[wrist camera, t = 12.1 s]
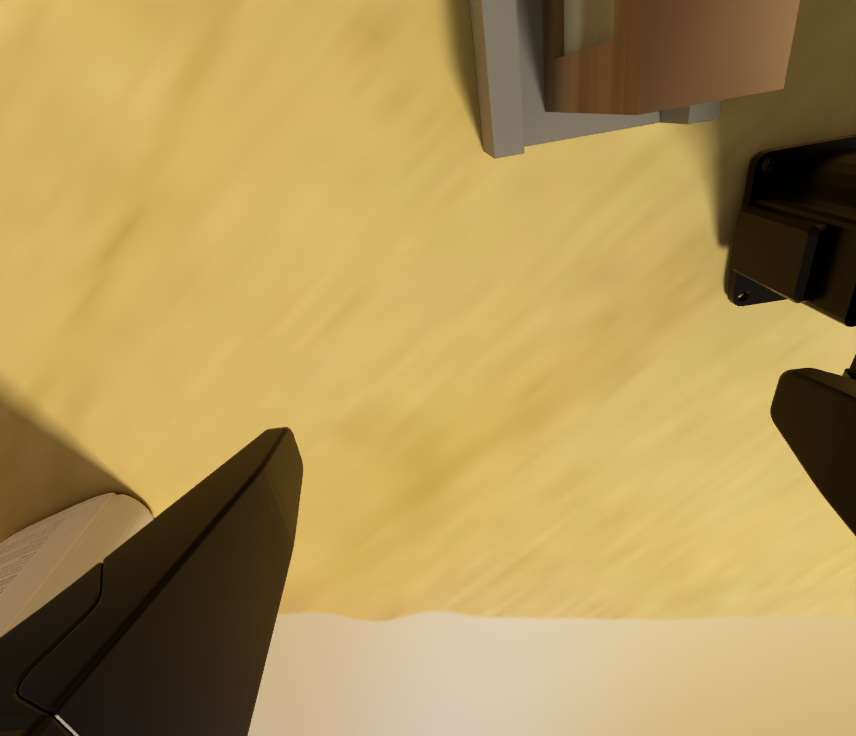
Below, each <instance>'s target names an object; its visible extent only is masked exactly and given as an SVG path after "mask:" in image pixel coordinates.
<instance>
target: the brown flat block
mask: <svg viewBox="0 0 856 736" xmlns="http://www.w3.org/2000/svg"><path fill="white" fill-rule="evenodd" d="M799 4H800V0H542V29H543V60H544V92H545V112H562V113H589V114H616V115H641V114H647V113H652V112H658V111H664V110H669V109H675V108H680V107H686V106H691V105H697V104H703V103H708V102H714V101H719V100H725V99H730V98H736V97H742V96H747V95H753V94H758V93H764V92H770V91H775V90H781V89H784V84H785V78H786V73H787V68H788V62H789V57H790V52H791V46H792V41H793V36H794V30H795V25H796V20H797V14H798V9H799Z"/></svg>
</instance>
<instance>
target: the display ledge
mask: <svg viewBox="0 0 856 736" xmlns="http://www.w3.org/2000/svg"><path fill="white" fill-rule="evenodd" d="M469 1H470V12H471V22H472V33H473V44H474V54H475V65H476V76H477V87H478V97H479V108H480V119H481V129H482V140H483V151H484V152H486V153H487V154H489V155H490V156H492V157H493V158H501V157H506V156H512V155H518V154H523V153H524V147H526V146H531V145H537V144H542V143H548V142H553V141H559V140H565V139H570V138H576V137H581V136H587V135H593V134H598V133H604V132H609V131H615V130H620V129H626V128H632V127H637V126H643V125H648V124H654V123H660V122H662V123H678V124H692V123H697V122H703V121H708V120H714V119H719V116H720V108H721V101H722V100H719V101H714V102H708V103H703V104H697V105H691V106H686V107H680V108H675V109H669V110H664V111H658V112H652V113H647V114H641V115H616V114H589V113H562V112H545V92H544V60H543V29H542V0H469Z"/></svg>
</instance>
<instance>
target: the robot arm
mask: <svg viewBox="0 0 856 736" xmlns="http://www.w3.org/2000/svg"><path fill="white" fill-rule="evenodd" d="M766 159H768V162H769V163H768V165H767V167H766V168H765V169H764V170H762V164H763V162H764V161H765V160H766ZM731 268H732V271H731V277H730V283H729V289H728V299H729V301H730V302H732V303H734V304H735V305H737V306H746V305H752V304H759V303H765V302H772V301H778V300H785V299H789V300H791V301H793V302H795V303H802V304H804V305H806V306H808V307H810V308H812V309H814V310H816V311H818V312H820V313H822V314H824V315H826V316H828V317H830V318H832V319H834V320H836V321H838V322H840V323H842V324H844V325H846V326H849V327H853V326H856V135H850V136H844V137H838V138H833V139H827V140H821V141H815V142H809V143H804V144H798V145H792V146H786V147H781V148H775V149H769V150H764V151H761V152H759V153H758V154H756V155H755V156H754V157H753V159H752V160H751V162H750V165H749V169H748V175H747V181H746V187H745V193H744V199H743V205H742V209H741V211H740V212H739V217H738V223H737V229H736V235H735V241H734V247H733V253H732V259H731ZM742 291H745V292H744V294H743V295H742V296H741V297H739V298H738V296H739V294H740V293H741V292H742ZM770 413H771V417H772V420H773V422H774V424H775V425H776V427H777V428H778V430H779V431H780V433H781V434H782V436H783V437H784V439H785V440H786V442H787V443H788V445H789V446H790V448H791V449H792V451H793V453H794V454H795V456H796V457H797V459H798V460H799V462H800V463H801V465H802V466H803V468H804V469H805V471H806V472H807V474H808V475H809V477H810V478H811V480H812V481H813V483H814V484H815V485H816V487H817V488H818V490H819V491H820V493H821V494H822V495H823V496H824V498H825V499H826V500H827V502H828V503H829V504H830V505H831V507H832V508H833V509H834V510H835V511H836V513H837V514H838V515H839V516H840V518H841V519H842V520H843V521H844V522H845V524H846V525H847V526H848V527H849V529H850V530H851V531H852V532H853V534H854V535H855V536H856V355H855V357H854V359H853V362H852V364H851V366H850V368H848V369H845V371H844V373H843V375H842V376H840V375H837V374H833V373H829V372H825V371H822V370H818V369H814V368H801V369H793V370H787V371H785V372H784V373H783V374H782V375H781V376H780V378H779V381H778V385H777V388H776V391H775V395H774V398H773V401H772V405H771V411H770ZM302 477H303V463H302V459H301V456H300V453H299V450H298V447H297V444H296V441H295V438H294V435H293V432H292V431H291V429H290V428H288V427H282V428H273V429H268V430H266V431H264V432H263V433H262V434H261V435H259V436H258V437H257V438H256V439H254V440H253V441H252V442H251V443H249V444H248V445H247V446H245V447H244V448H243V449H242V450H240V451H239V452H238V453H237V454H235V455H234V456H233V457H232V458H230V459H229V460H228V461H227V462H225V463H224V464H223V465H221V466H220V467H219V468H218V469H216V470H215V471H214V472H213V473H211V474H210V475H209V476H208V477H206V478H205V479H204V480H203V481H201V482H200V483H199V484H197V485H196V486H195V487H194V488H192V489H191V490H190V491H189V492H187V493H186V494H185V495H184V496H182V497H181V498H180V499H179V500H177V501H176V502H175V503H173V504H172V505H171V506H170V507H168V508H167V509H166V510H165V511H163V512H162V513H161V514H160V515H158V516H157V517H156V518H154V519H153V520H152V521H151V522H149V523H148V524H147V525H146V526H144V527H143V528H142V529H141V530H139V531H138V532H137V533H136V534H134V535H133V536H132V537H130V538H129V539H128V540H127V541H125V542H124V543H123V544H122V545H120V546H119V547H118V548H117V549H115V550H114V551H113V552H111V553H110V554H109V555H108V556H106V557H105V558H104V560H103V563H102V562H100V563H97V564H96V565H95V566H94V567H92V568H91V569H90V570H89V571H87V572H86V573H85V574H84V575H82V576H81V577H80V578H79V579H77V580H76V581H75V582H74V583H72V584H71V585H70V586H68V587H67V588H66V589H64V590H63V591H62V592H60V593H59V594H58V595H57V596H55V597H54V598H53V599H51V600H50V601H49V602H47V603H46V604H45V605H44V606H42V607H41V608H40V609H38V610H37V611H36V612H34V613H33V614H32V615H30V616H29V617H27V618H26V619H25V620H23V621H22V622H21V623H19V624H18V625H16V626H15V627H14V628H12V629H11V630H9V631H8V632H7V633H5V634H4V635H3V636H1V637H0V736H247V735H248V731H249V727H250V723H251V718H252V715H253V711H254V707H255V703H256V699H257V695H258V691H259V686H260V683H261V678H262V674H263V670H264V666H265V662H266V658H267V654H268V650H269V646H270V642H271V638H272V633H273V630H274V625H275V621H276V617H277V613H278V609H279V605H280V601H281V597H282V593H283V589H284V585H285V581H286V577H287V573H288V568H289V564H290V560H291V556H292V551H293V547H294V540H295V534H296V526H297V518H298V509H299V501H300V493H301V485H302Z"/></svg>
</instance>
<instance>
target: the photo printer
mask: <svg viewBox="0 0 856 736" xmlns="http://www.w3.org/2000/svg"><path fill="white" fill-rule="evenodd" d="M152 520H153V516H152V514H151V513H150V511H149V510H148V509H147V508H146V507H145V506H144V505H143V504H141V503H140V502H139V501H137V500H136V499H134V498H132V497H130V496H127V495H124V494H119V495H116V494H115V493H107V494H103V495H100V496H96V497H93V498H91V499H88V500H86V501H84V502H81V503H79V504H77V505H74V506H72V507H70V508H68V509H65V510H63V511H61V512H59V513H57V514H54V515H52V516H50V517H48V518H46V519H43V520H41V521H39V522H37V523H35V524H33V525H31V526H28V527H26V528H25V529H23V530H21V531H19V532H17V533H15V534H13V535H12V536H10V537H9V538H7V539H6V540H5V541H4V542H2V543H1V544H0V637H1V636H3V635H4V634H5V633H7V632H8V631H9V630H11V629H12V628H14V627H15V626H16V625H18V624H19V623H21V622H22V621H23V620H25V619H26V618H27V617H29V616H30V615H32V614H33V613H34V612H36V611H37V610H38V609H40V608H41V607H42V606H44V605H45V604H46V603H47V602H49V601H50V600H51V599H53V598H54V597H55V596H57V595H58V594H59V593H60V592H62V591H63V590H64V589H66V588H67V587H68V586H70V585H71V584H72V583H74V582H75V581H76V580H77V579H79V578H80V577H81V576H82V575H84V574H85V573H86V572H87V571H89V570H90V569H91V568H92V567H94V566H95V565H96V564H97V563H100V562H102V563H103V560H104V558H105V557H106V556H108V555H109V554H110V553H111V552H113V551H114V550H115V549H117V548H118V547H119V546H120V545H122V544H123V543H124V542H125V541H127V540H128V539H129V538H130V537H132V536H133V535H134V534H136V533H137V532H138V531H139V530H141V529H142V528H143V527H144V526H146V525H147V524H148V523H149V522H151V521H152Z"/></svg>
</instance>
